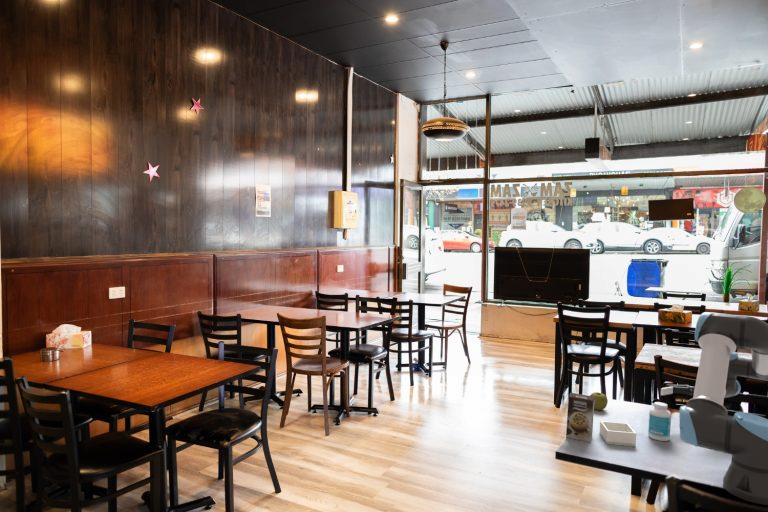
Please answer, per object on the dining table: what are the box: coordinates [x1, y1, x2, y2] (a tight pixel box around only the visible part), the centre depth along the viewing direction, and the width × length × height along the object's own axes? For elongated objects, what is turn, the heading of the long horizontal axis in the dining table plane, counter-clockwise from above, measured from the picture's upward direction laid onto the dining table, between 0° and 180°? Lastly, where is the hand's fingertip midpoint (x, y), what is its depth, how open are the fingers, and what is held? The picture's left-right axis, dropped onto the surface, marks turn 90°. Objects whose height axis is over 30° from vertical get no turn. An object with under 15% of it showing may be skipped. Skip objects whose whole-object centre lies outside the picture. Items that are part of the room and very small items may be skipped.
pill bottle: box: [647, 401, 672, 442], centre depth 200 cm, size 8×7×14 cm
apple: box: [589, 392, 608, 411], centre depth 231 cm, size 8×8×7 cm
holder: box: [599, 420, 637, 447], centre depth 196 cm, size 10×10×5 cm
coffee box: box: [565, 392, 595, 443], centre depth 197 cm, size 9×6×16 cm
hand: (677, 397), depth 204 cm, fingers open, 13 cm apart
